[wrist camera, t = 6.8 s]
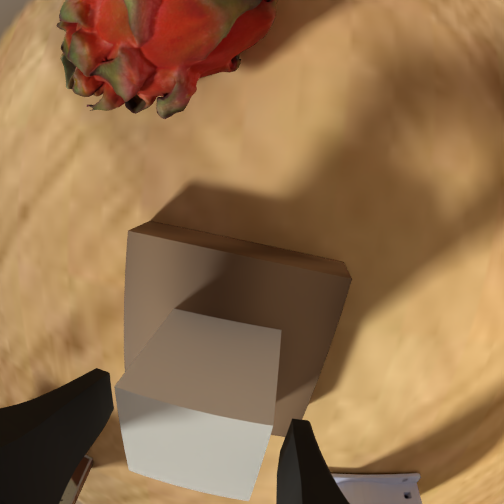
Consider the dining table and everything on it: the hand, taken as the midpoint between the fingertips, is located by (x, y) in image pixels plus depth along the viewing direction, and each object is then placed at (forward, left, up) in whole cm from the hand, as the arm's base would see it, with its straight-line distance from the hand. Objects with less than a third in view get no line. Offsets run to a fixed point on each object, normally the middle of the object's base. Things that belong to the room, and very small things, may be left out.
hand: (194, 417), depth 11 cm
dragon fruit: (+4, -16, -7) cm, 18 cm away
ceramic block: (0, 0, -4) cm, 4 cm away
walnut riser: (0, 0, -7) cm, 7 cm away
